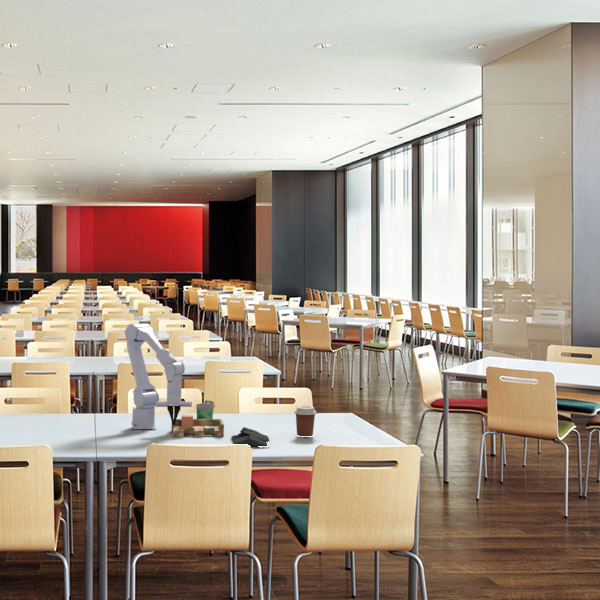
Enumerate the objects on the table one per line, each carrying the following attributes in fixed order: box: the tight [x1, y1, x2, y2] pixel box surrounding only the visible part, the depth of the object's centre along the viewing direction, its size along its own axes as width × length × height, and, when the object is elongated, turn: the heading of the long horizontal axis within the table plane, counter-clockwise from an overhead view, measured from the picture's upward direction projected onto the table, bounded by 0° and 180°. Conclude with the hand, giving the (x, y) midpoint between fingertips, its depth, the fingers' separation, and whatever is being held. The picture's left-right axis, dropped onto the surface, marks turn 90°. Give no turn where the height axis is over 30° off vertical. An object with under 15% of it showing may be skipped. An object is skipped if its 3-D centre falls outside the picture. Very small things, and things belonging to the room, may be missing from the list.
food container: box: [195, 399, 216, 419], centre depth 361 cm, size 12×6×10 cm, turn 168°
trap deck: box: [170, 418, 225, 438], centre depth 341 cm, size 20×13×5 cm, turn 100°
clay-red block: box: [181, 414, 194, 428], centre depth 343 cm, size 4×4×4 cm
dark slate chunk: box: [231, 427, 270, 448], centre depth 326 cm, size 15×22×5 cm
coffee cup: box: [293, 405, 317, 436], centre depth 341 cm, size 9×9×12 cm
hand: (173, 424), depth 342 cm, fingers closed
